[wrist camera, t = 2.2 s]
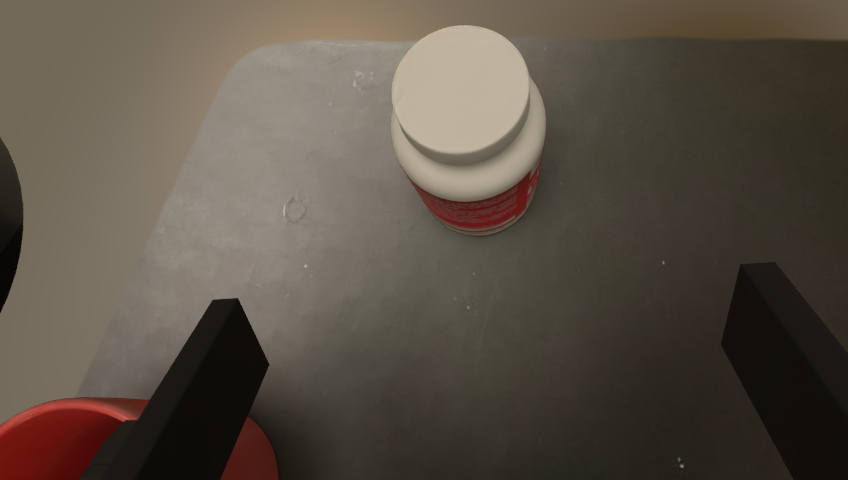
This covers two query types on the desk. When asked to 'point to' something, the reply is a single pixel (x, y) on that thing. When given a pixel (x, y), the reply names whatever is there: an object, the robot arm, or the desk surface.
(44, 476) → the flower pot
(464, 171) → the pill bottle
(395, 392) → the desk surface
